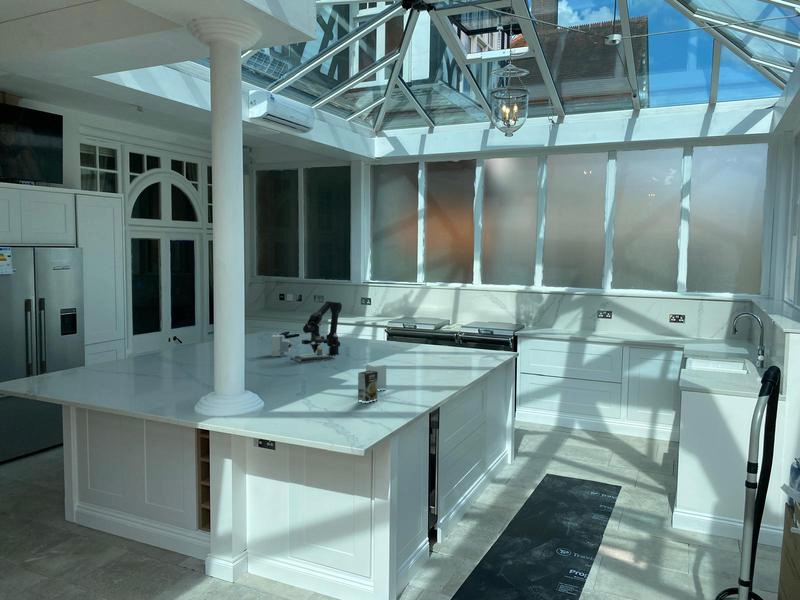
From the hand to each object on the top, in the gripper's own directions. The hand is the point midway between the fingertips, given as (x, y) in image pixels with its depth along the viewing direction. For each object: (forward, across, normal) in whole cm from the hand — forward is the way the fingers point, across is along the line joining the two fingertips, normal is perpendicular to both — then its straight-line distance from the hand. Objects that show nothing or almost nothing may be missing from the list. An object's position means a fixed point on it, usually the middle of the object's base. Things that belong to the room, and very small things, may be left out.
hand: (314, 353), depth 458 cm
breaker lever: (+3, +4, 0) cm, 5 cm away
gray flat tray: (+3, -2, 0) cm, 4 cm away
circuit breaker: (+5, -16, +24) cm, 29 cm away
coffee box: (+5, -20, -126) cm, 128 cm away
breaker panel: (+4, -1, 0) cm, 4 cm away
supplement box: (+5, -4, -105) cm, 105 cm away
